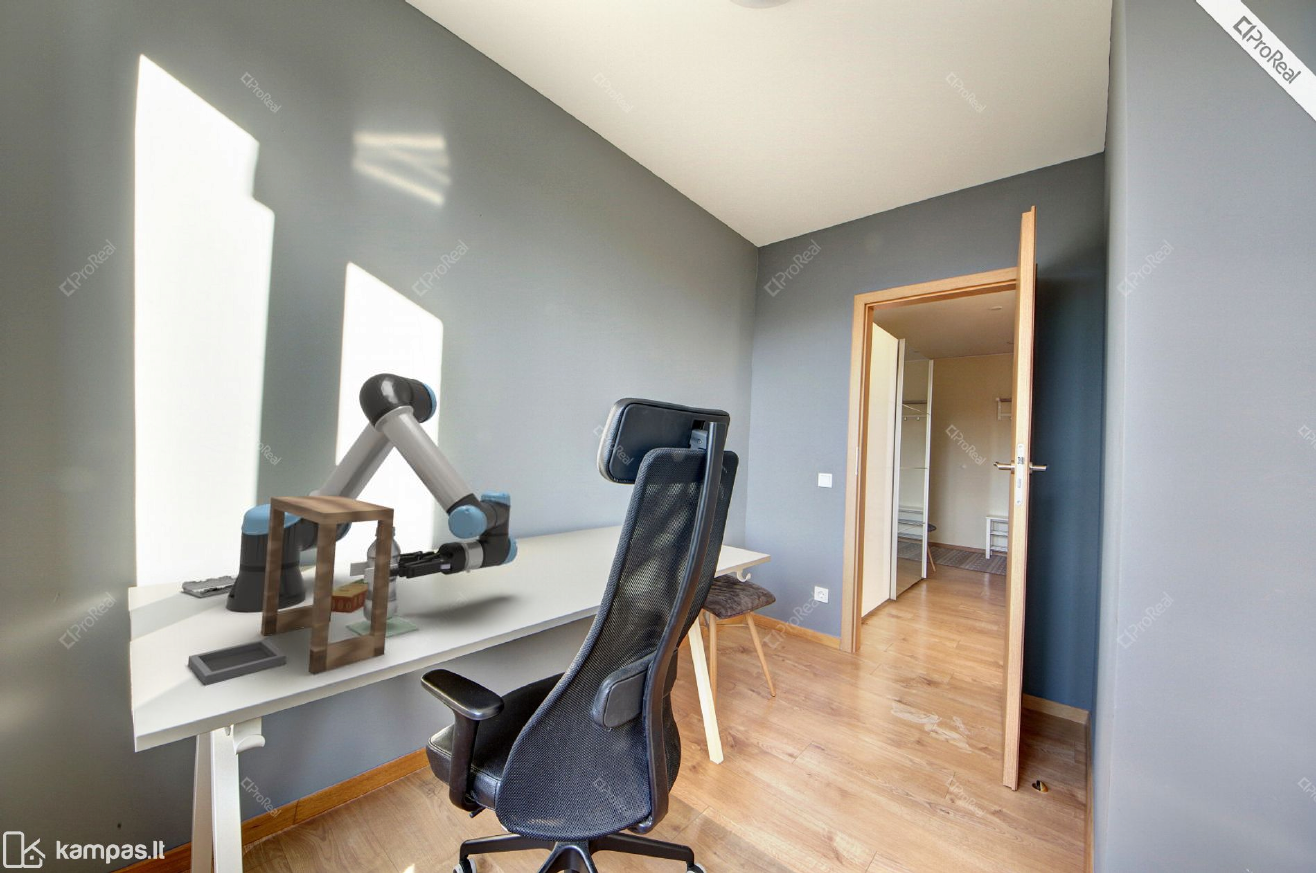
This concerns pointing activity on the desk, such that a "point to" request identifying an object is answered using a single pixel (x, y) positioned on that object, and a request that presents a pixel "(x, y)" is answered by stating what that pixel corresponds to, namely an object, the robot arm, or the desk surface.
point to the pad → (392, 627)
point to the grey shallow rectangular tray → (235, 661)
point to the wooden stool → (328, 578)
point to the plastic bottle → (392, 592)
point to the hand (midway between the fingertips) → (358, 572)
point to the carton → (349, 597)
